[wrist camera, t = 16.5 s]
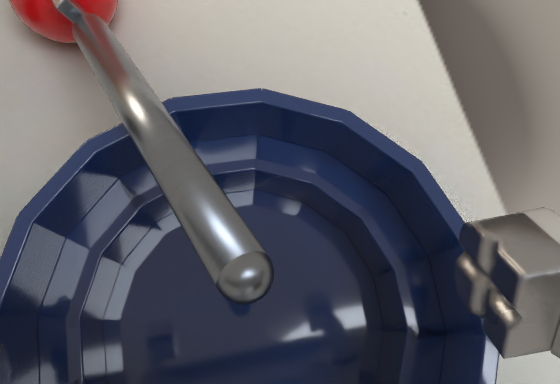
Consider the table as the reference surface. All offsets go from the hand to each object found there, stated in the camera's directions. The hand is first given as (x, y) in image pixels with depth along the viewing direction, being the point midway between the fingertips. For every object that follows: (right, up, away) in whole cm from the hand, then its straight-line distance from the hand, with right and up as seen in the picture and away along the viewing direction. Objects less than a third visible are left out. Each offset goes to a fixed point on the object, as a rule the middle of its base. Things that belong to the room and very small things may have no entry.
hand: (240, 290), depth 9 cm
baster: (0, 0, +1) cm, 1 cm away
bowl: (-1, -3, +11) cm, 11 cm away
